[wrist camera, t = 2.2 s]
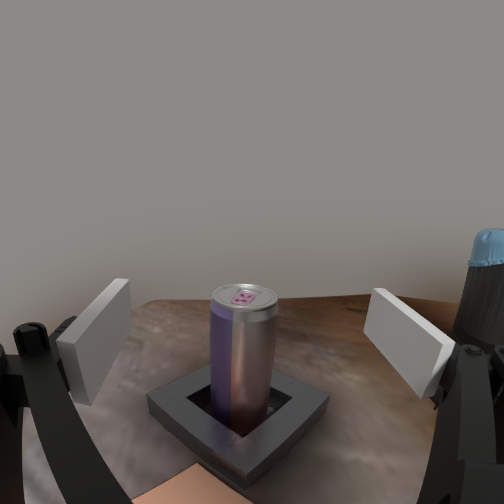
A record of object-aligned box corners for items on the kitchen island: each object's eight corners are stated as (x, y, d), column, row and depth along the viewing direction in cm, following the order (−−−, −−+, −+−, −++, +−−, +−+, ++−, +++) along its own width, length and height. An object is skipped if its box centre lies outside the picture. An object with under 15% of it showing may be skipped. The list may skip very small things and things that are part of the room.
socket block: (234, 368, 39) (235, 350, 38) (324, 412, 30) (330, 394, 29) (149, 413, 28) (146, 393, 27) (245, 489, 19) (247, 473, 19)
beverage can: (202, 427, 27) (198, 300, 24) (223, 395, 33) (226, 278, 29) (256, 443, 25) (270, 314, 22) (272, 407, 31) (286, 288, 27)
